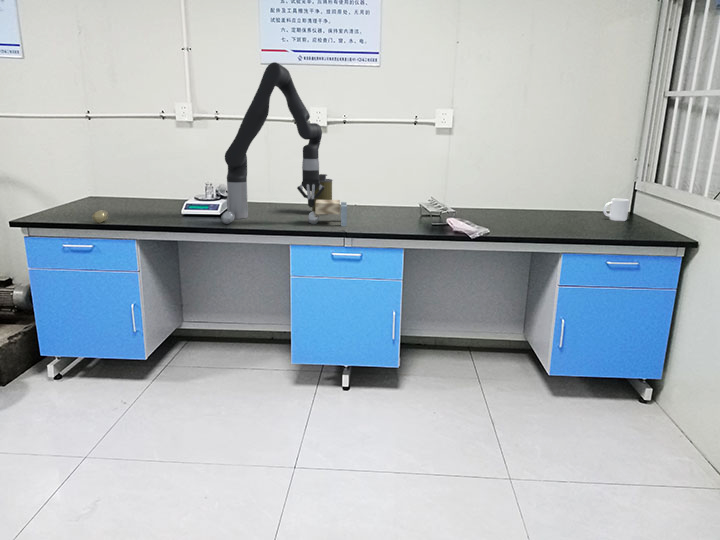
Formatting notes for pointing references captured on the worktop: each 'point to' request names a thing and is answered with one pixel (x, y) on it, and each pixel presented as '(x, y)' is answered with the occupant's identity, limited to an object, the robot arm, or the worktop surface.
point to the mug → (617, 209)
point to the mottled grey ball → (313, 218)
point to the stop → (343, 214)
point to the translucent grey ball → (228, 217)
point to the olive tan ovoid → (100, 216)
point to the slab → (327, 207)
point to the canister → (326, 192)
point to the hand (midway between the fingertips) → (311, 207)
